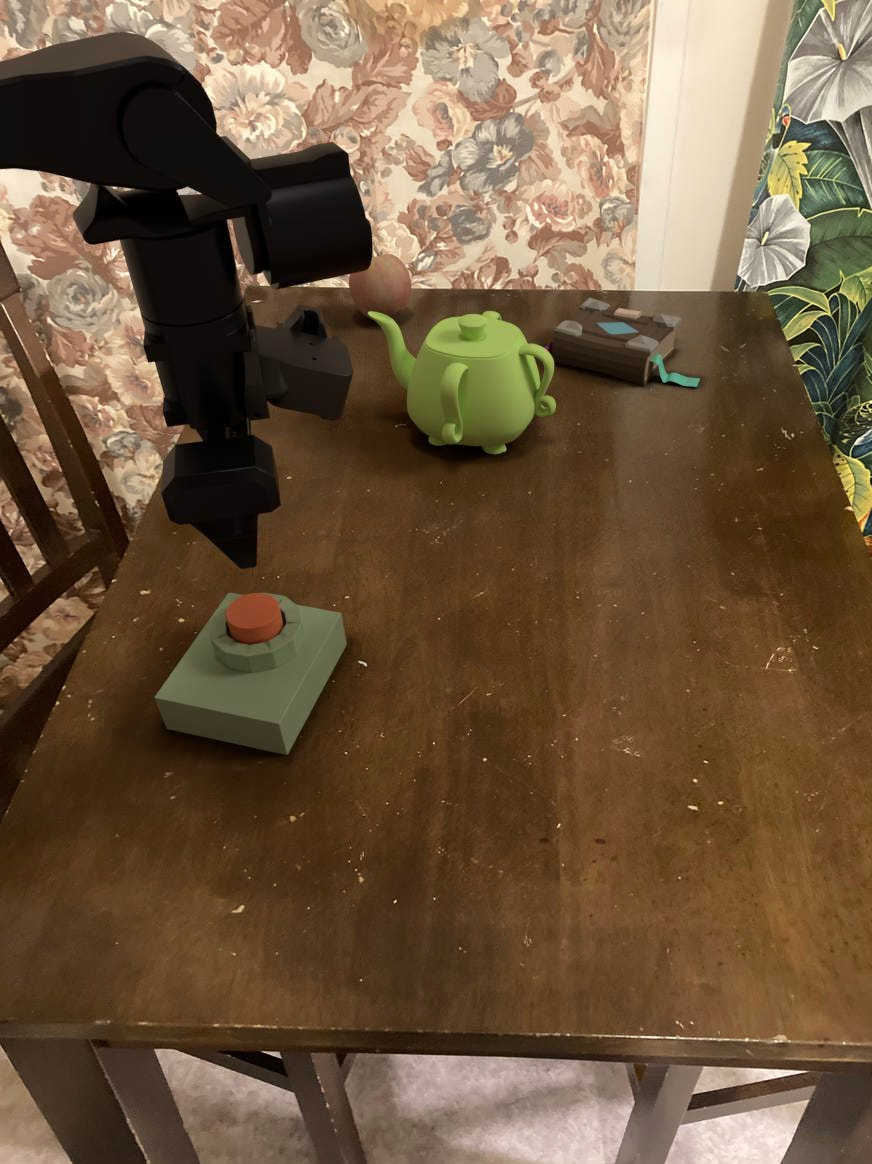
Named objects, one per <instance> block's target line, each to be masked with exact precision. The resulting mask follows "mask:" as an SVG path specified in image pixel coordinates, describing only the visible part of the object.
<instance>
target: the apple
mask: <svg viewBox="0 0 872 1164" xmlns="http://www.w3.org/2000/svg"><path fill="white" fill-rule="evenodd" d="M348 288H349V292H350V295H351V299H352V301H353V303H354V305H355V306H356V308H357V309H358V311H360V313H362V315H364V316H365V317H366V318H368V319H370V320H372V321H375V320H374V319H372V318H371V317H370V316H369V315H368V312H370V311H373V312H378V313H382V314H384V315H387V316H389V317H390V318H391V317H392V316H394V315H395V314H396V313H398V312H400V311H402V310H403V309H404V308H405V307H407V305H408V304H409V302H410V300H411V297H412V279H411V276H410V272H409V270H408V268H407V266H406V265H405V263H404V262H403V261H402V259H400V258H399V257H398V256H397V255H394V254H392V253H385V254H382V255H377V256H376V255H375V256H372V261H371V265H370V267H369V268H368V270H366V271H362V272H357V273H353V274H348Z"/></svg>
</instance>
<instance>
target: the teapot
mask: <svg viewBox="0 0 872 1164" xmlns="http://www.w3.org/2000/svg"><path fill="white" fill-rule="evenodd" d="M368 315H369V316H370V317H371V318H372V319H374V320H373V321H374V322H376V323H377V324H378V325H379V327H380V328H381V329H382V331H383V333H384V336H385V338H386V342H387V347H388V354H389V361H390V365H391V370H392V373H393V375H394V377H395V379H396V380H397V381H398V383H399V384H400V386H402V387H403V388H404V389H405V390H406V391H407V394H406V409H407V413H408V416H409V418H410V420H412V422H413V423H414V425H416V427H417V428H418V429H419V430H420V431H421V432H422V433H424V434H425V435H426V436H429V437H428V439H427V440H428V443H429V444H431V445H432V446H437V447H440V446H446V445H460V446H468V447H482V450H483V452H484V453H487V454H490V455H497V454H498V455H499V454H501V453H503V452H504V453H505V452H507V447H506V444H509V443H511V442H514V441H515V440H516V439H518V437H520V435H521V434H523V432H524V431H525V430H526V428H527V427H528V426H529V425H530V423H531V422H532V420H533V419H534V417H535V416H536V417H538V418H542V419H545V418H549V417H551V416H552V415H553V414H554V413H555V412H556V410H557V409H556V408H557V401H556V400H555V399H554V398H553V397H552V395H545V394H546V392H547V390H548V389H549V386H550V383H551V382H552V379H553V376H554V371H555V362H554V360H553V358H552V353H550V352H548V351H547V350H546V349H545V348H544V347H543V346H541V345H539V344H536V343H528V341H527V339H526V337H525V335H524V333H523V332H522V330H521V329H520V327H518V326H517V325H515V324H514V323H510V322H509V321H505V320H502V316H501V314H500V313H499V312H497V311H494V310H486V311H483V312H482V314H479V313H478V314H477V313H468V314H463V315H462V316H453V317H448V318H443V319H442V320H440V321H439V322H438V323H436V324H435V325H434V326H433V327H432V328H431V329H430V330H429V332H428V334H426V336H425V338H424V340H423V342H422V344H421V346H420V349H419V351H418V354H417V356H416V357H415V356H413V355H412V354H411V353H410V352H409V350H408V349H407V347H406V344H405V341H404V337H403V334H402V331H401V329H400V327H399V325H398V324H397V322H396V321H395V320H394V319H393V318H392V317H391V316H390V317H389V316H387V315H384V314H382V313H378V312H373V311H370V312H368ZM372 319H371V320H372ZM535 358H537V359H538V360H539V361H540V362H541V363H542V365H543V368H544V372H543V375H542V378H541V379H540V373H539V368H538V365H537V361H536V359H535ZM543 403H544V404H546V405H547V407H546V406H543Z"/></svg>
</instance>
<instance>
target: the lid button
mask: <svg viewBox="0 0 872 1164" xmlns="http://www.w3.org/2000/svg"><path fill="white" fill-rule="evenodd" d="M264 593H265V592H252V593H247V594H242V595H243V596H241V597H239V598H237V599H235V600H234V601H233V602H232V603H231V604H230V605H229V606H228V608H227V610H226V619H227V623H228V626H229V629H230V633H231V635H232V637H233V638H234V639H235V640H236V641H238V642H240V643H243V644H248V645H253V644H258V643H263V642H267V641H269V640H271V639H272V638H274V637H275V636H277V635H278V634H279V632H280V631H281V629H282V626H283V620H282V616H281V612H280V607H279V604H278V602H277V600H276V599H275V598H274V597H272V596H270V595H268V594H264Z"/></svg>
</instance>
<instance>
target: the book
mask: <svg viewBox="0 0 872 1164" xmlns="http://www.w3.org/2000/svg"><path fill="white" fill-rule="evenodd" d="M681 324H682V318H681V316H676V315H669V314H665V313H664V314H663V313H655V314H653V315H652V316H649V315H643V312H642V310H634V309H626V308H622V307H619V308H614V307H611V305H610V304H609V303H608V302H605V301H601V300H598V299H595V298H593V297H588V298H587V299H586V300H585V301H584V302H583V303H582V304H581V305H579V311H577V313H575V315H574V316H572V318H570V319H569V320H563V321H562V322H561V323H559V325H557V326H556V327H555V328H554V329H553V337H552V340H551V341H550V344H549V345H546V346H544V347H543V348H545V349H546V350H547V351H548V352H549V353H550V352H551V356H552V358H553V360H554V363H557V364H562V365H566V366H570V367H576V368H579V369H584V370H589V371H592V372H598V373H601V374H605V375H608V376H611V377H615V378H618V379H621V380H625V381H627V382H631V383H635V384H638V385H642V386H646V384H647V383H648V382H649V380H650V379H651V378H652V376H653V375H654V374H655V372H656V371H657V370H658V371H659V376H660V378H661V381H662V382H663V383H668V382H673V383H676V384H679V385H681V386H684V387H695V388H697V387H698V386H699V382H700V380H701V378H698V377H688V376H685V375H682V374H680V373H677V372H671V373H667V371H666V369H665V366H664V362H666V360H667V359H668V358H669V357H670V356H671V355H672V354H674V353H675V347H674V343H675V335H676V330H677V328H678V327H679V326H680V325H681Z"/></svg>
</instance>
